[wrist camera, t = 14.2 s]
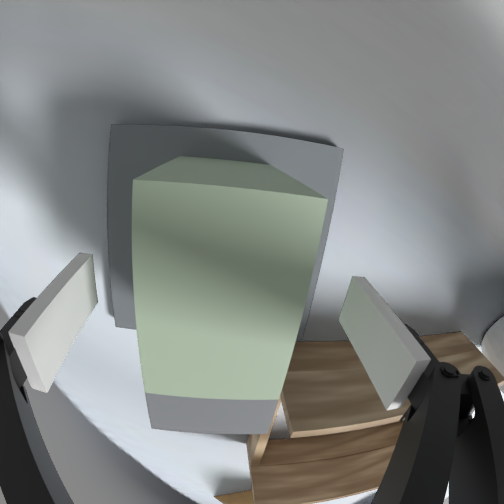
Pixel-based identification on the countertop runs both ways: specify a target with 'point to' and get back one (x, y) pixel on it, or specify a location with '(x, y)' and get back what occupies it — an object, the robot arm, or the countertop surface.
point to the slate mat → (205, 146)
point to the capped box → (220, 289)
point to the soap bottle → (495, 346)
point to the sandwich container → (237, 498)
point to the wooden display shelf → (337, 423)
